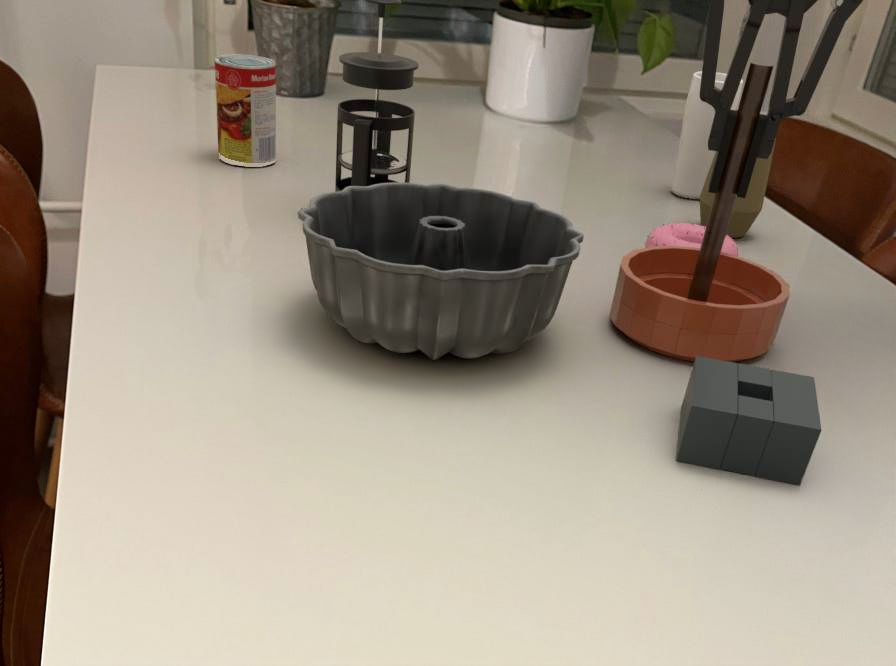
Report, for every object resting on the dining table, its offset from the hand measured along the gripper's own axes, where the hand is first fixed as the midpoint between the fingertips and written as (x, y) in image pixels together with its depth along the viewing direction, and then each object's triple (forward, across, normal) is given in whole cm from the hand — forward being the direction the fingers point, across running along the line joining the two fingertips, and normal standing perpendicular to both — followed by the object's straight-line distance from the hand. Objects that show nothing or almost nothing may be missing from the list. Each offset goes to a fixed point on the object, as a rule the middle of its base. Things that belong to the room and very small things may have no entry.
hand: (726, 190), depth 93 cm
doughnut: (+14, -1, +20) cm, 24 cm away
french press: (+14, -40, +19) cm, 46 cm away
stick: (+11, 0, 0) cm, 11 cm away
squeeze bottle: (+14, +3, +37) cm, 40 cm away
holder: (+14, +5, -23) cm, 27 cm away
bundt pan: (+14, -25, -10) cm, 30 cm away
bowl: (+14, 0, 0) cm, 14 cm away
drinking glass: (+14, -2, +52) cm, 54 cm away
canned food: (+14, -62, +34) cm, 72 cm away
